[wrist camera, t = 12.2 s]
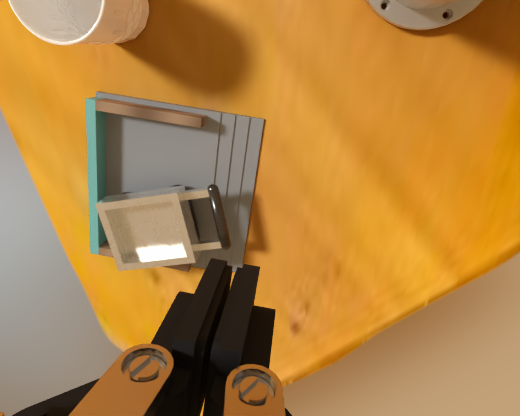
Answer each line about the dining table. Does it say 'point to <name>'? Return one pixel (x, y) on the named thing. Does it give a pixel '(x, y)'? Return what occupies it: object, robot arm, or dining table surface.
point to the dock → (173, 163)
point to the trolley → (159, 226)
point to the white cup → (82, 20)
